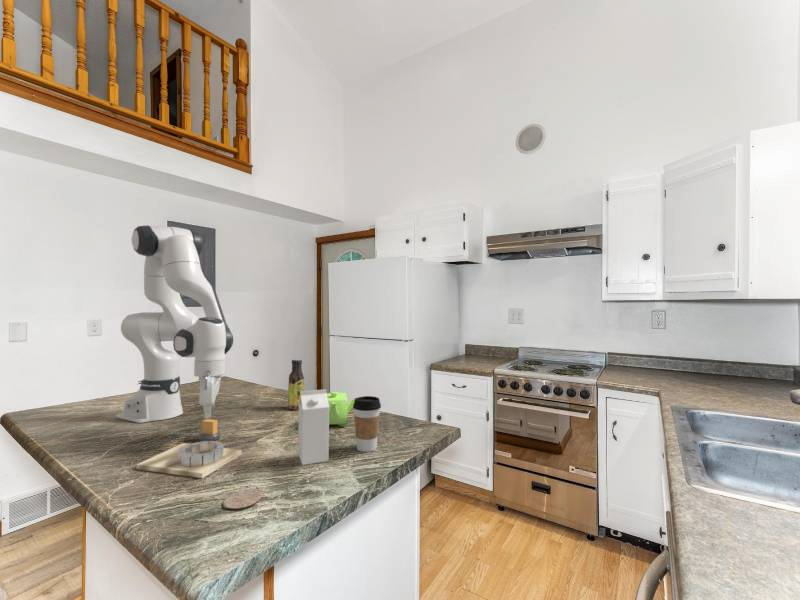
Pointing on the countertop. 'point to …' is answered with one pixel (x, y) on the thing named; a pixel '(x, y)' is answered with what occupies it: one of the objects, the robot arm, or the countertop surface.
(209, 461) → the faceted grey ring
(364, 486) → the countertop surface
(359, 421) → the coffee cup
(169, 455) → the board
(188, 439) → the countertop surface
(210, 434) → the orange dark-based block
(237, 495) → the flatbread
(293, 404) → the sauce bottle
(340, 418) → the kettle
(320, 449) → the milk carton
